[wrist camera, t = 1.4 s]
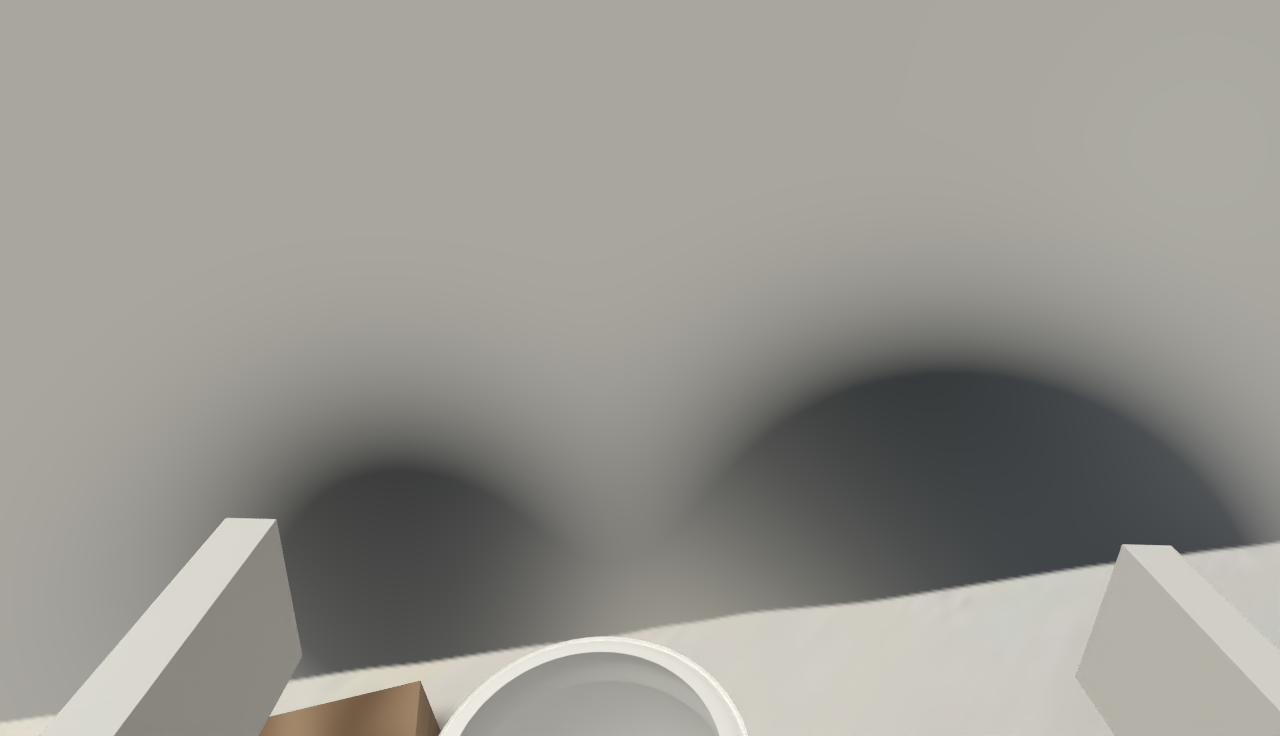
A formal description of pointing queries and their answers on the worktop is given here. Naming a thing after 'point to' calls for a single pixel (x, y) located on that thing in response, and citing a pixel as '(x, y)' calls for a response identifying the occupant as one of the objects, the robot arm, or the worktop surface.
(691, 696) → the jar
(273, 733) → the walnut slab
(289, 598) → the robot arm
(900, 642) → the worktop surface
